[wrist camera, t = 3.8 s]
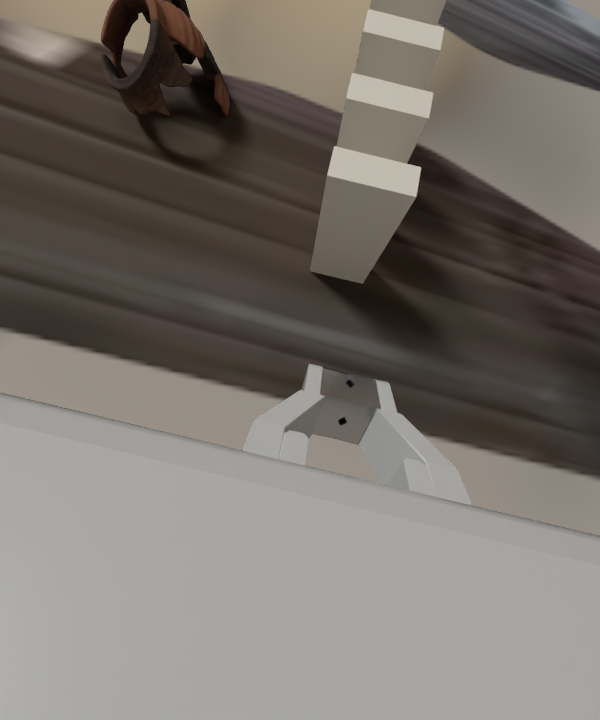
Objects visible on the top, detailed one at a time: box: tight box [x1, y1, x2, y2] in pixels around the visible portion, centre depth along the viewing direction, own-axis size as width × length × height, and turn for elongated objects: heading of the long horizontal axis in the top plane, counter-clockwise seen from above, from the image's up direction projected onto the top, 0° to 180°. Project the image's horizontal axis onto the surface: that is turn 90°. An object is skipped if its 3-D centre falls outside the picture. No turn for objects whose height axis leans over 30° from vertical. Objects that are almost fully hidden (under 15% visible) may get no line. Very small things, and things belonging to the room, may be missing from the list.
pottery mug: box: [101, 0, 230, 116], centre depth 24 cm, size 12×10×8 cm
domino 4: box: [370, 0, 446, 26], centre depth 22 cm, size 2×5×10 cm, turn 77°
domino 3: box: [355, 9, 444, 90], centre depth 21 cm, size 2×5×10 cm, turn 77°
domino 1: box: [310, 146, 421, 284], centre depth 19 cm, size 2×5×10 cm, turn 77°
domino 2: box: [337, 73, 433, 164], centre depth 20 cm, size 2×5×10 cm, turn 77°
